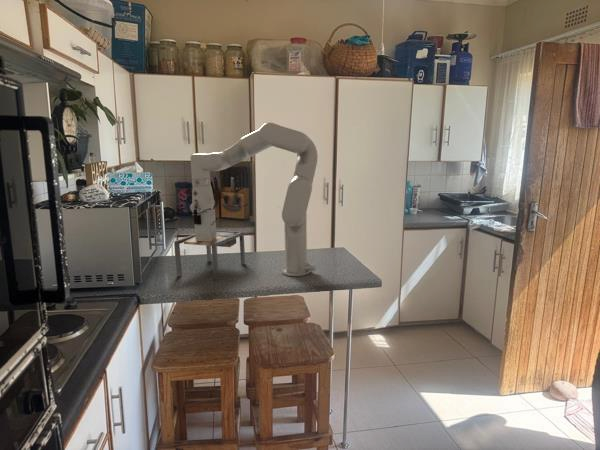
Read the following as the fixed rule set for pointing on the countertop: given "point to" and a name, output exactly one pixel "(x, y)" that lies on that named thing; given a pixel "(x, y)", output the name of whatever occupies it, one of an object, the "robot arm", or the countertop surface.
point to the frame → (214, 251)
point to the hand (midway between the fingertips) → (204, 222)
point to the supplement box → (206, 226)
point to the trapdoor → (219, 237)
